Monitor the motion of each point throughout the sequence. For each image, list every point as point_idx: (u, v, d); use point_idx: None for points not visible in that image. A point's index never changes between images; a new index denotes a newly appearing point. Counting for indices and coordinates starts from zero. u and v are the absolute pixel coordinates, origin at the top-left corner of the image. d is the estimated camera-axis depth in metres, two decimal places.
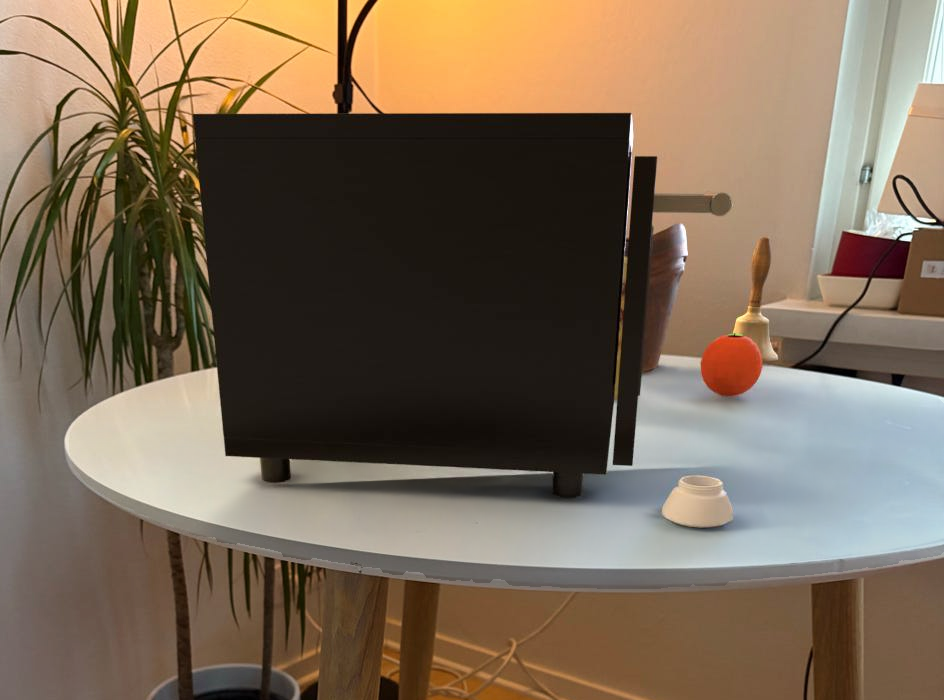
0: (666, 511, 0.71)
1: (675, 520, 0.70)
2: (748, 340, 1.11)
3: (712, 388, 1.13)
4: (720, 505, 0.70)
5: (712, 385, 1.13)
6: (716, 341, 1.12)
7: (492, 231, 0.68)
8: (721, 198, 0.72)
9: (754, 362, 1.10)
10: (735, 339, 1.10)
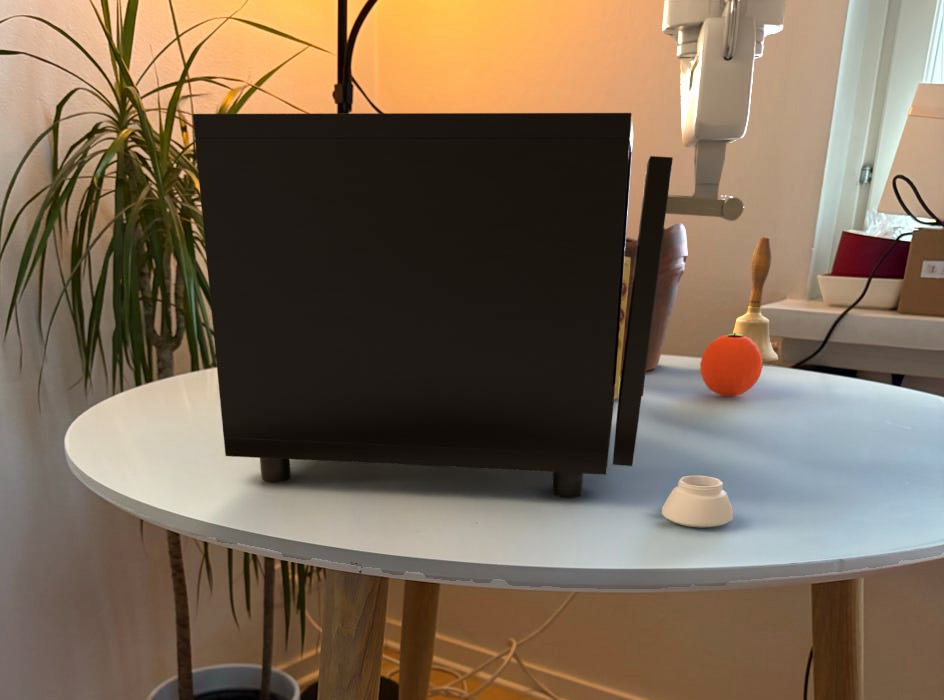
0: (666, 511, 0.71)
1: (675, 520, 0.70)
2: (748, 340, 1.11)
3: (712, 388, 1.13)
4: (720, 505, 0.70)
5: (712, 385, 1.13)
6: (716, 341, 1.12)
7: (492, 231, 0.68)
8: (733, 203, 0.72)
9: (754, 362, 1.10)
10: (735, 339, 1.10)
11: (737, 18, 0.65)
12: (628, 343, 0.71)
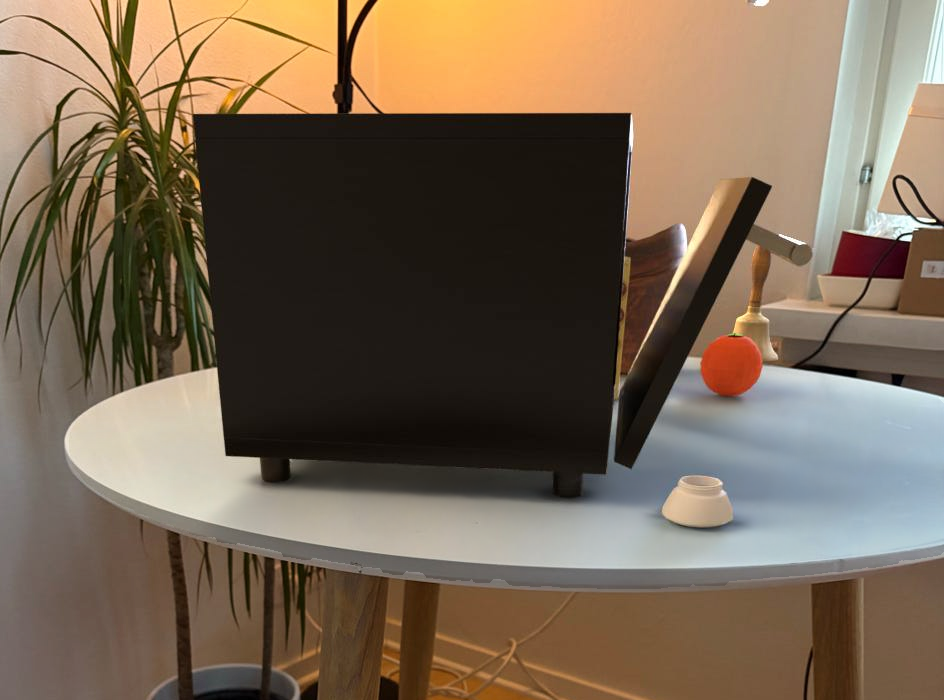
0: (666, 511, 0.71)
1: (675, 520, 0.70)
2: (748, 340, 1.11)
3: (712, 388, 1.13)
4: (720, 505, 0.70)
5: (712, 385, 1.13)
6: (716, 341, 1.12)
7: (492, 231, 0.68)
8: (804, 249, 0.73)
9: (754, 362, 1.10)
10: (735, 339, 1.10)
11: None
12: (668, 350, 0.70)
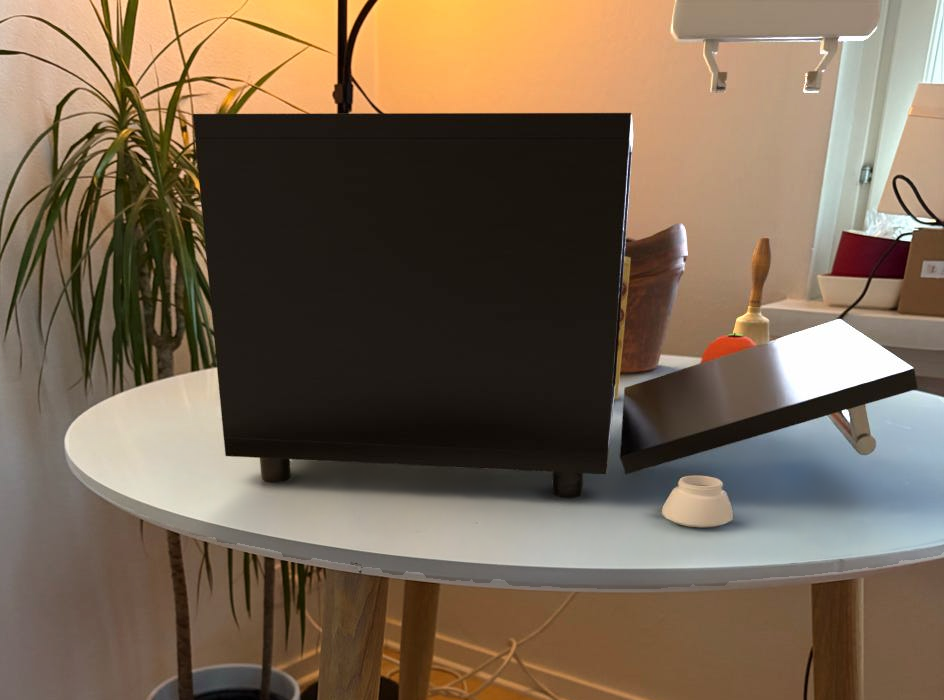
0: (666, 511, 0.71)
1: (675, 520, 0.70)
2: (748, 340, 1.11)
3: None
4: (720, 505, 0.70)
5: None
6: (716, 341, 1.12)
7: (492, 231, 0.68)
8: (871, 443, 0.78)
9: None
10: (735, 339, 1.10)
11: None
12: (739, 421, 0.72)
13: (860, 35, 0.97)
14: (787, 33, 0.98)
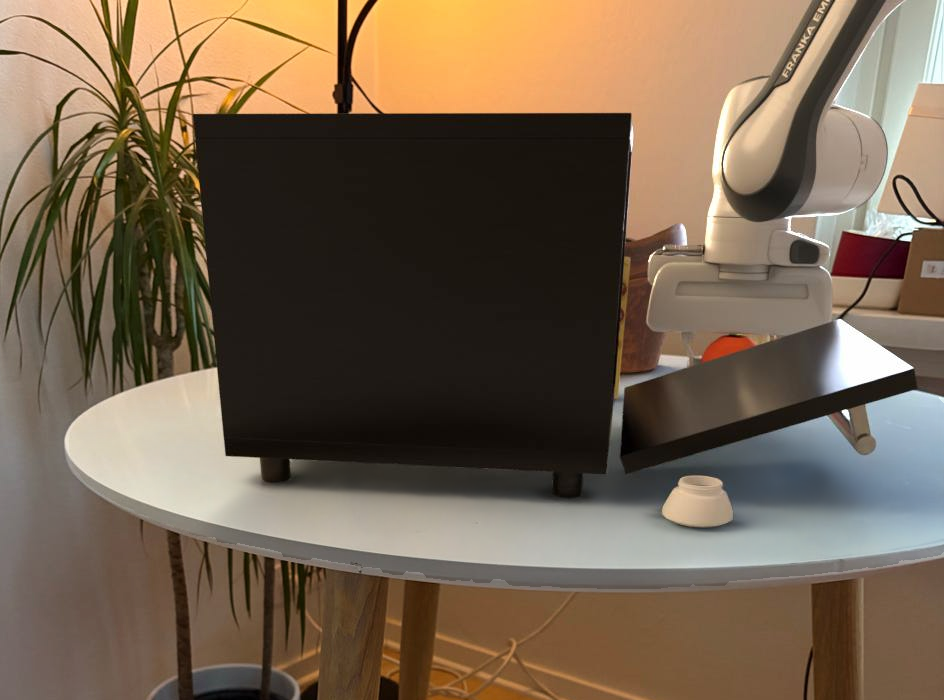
0: (666, 511, 0.71)
1: (675, 520, 0.70)
2: (748, 340, 1.11)
3: None
4: (720, 505, 0.70)
5: None
6: (716, 341, 1.12)
7: (492, 231, 0.68)
8: (871, 443, 0.78)
9: None
10: (735, 339, 1.11)
11: (649, 265, 1.10)
12: (739, 421, 0.72)
13: None
14: (749, 331, 1.10)
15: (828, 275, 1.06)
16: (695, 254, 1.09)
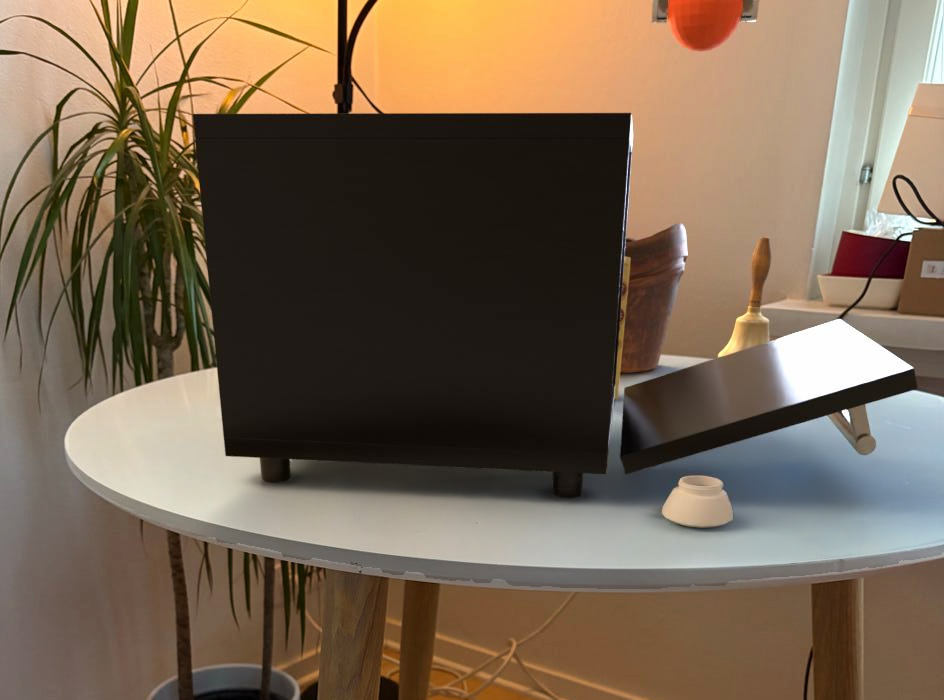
0: (666, 511, 0.71)
1: (675, 520, 0.70)
2: None
3: (681, 36, 0.92)
4: (720, 505, 0.70)
5: (681, 31, 0.91)
6: None
7: (492, 231, 0.68)
8: (871, 443, 0.78)
9: None
10: None
11: None
12: (739, 421, 0.72)
13: None
14: None
15: None
16: None
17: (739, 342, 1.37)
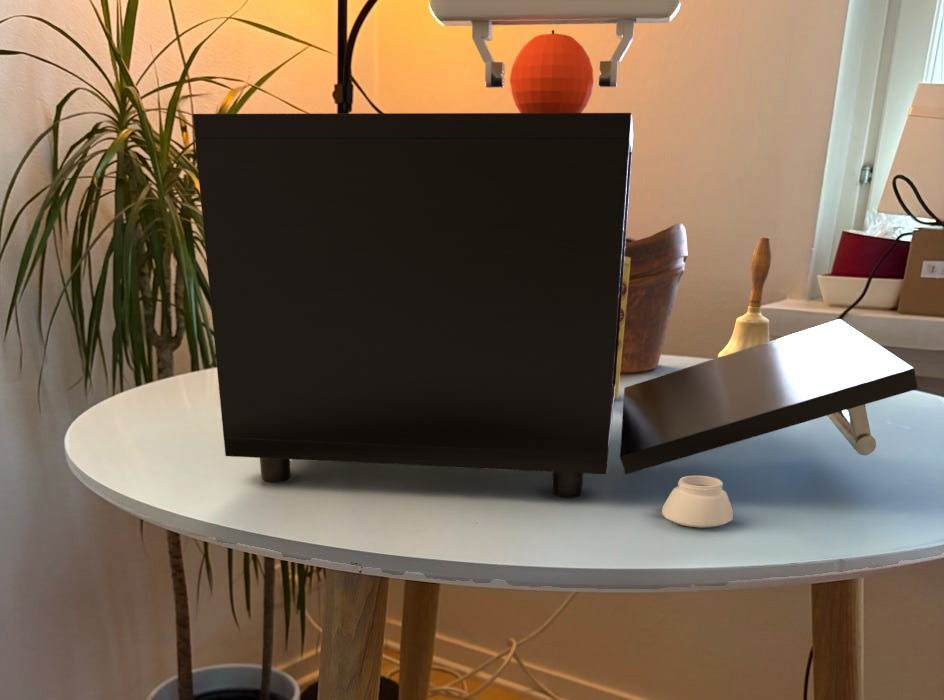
0: (666, 511, 0.71)
1: (675, 520, 0.70)
2: (570, 38, 0.79)
3: None
4: (720, 505, 0.70)
5: (524, 107, 0.81)
6: (528, 42, 0.80)
7: (492, 231, 0.68)
8: (871, 443, 0.78)
9: (577, 66, 0.79)
10: (551, 35, 0.79)
11: None
12: (739, 421, 0.72)
13: (659, 16, 0.78)
14: (569, 13, 0.78)
15: None
16: None
17: (739, 342, 1.37)
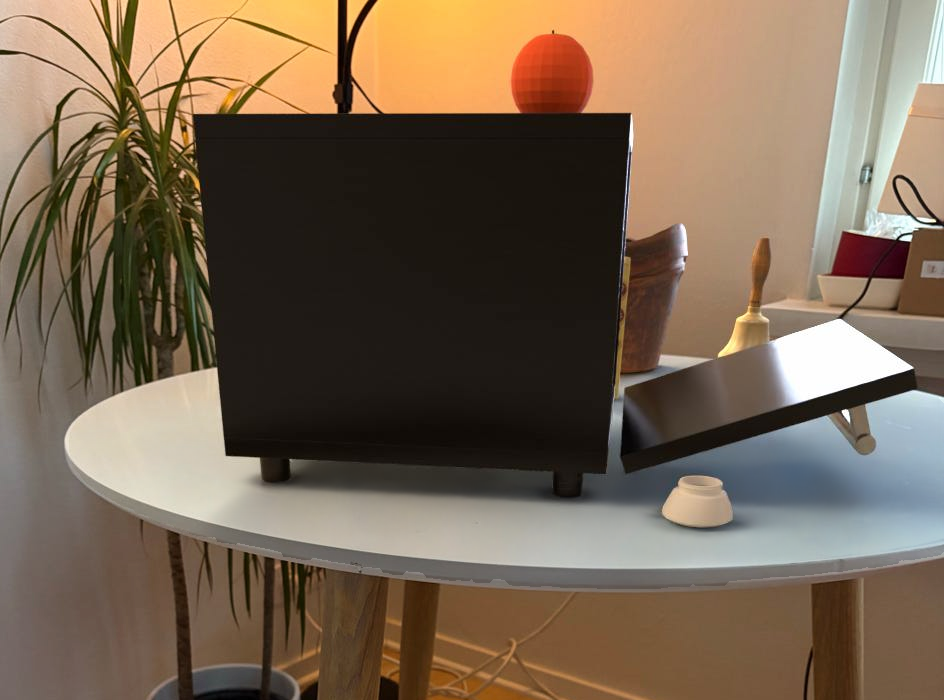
0: (666, 511, 0.71)
1: (675, 520, 0.70)
2: (570, 38, 0.79)
3: None
4: (720, 505, 0.70)
5: (524, 107, 0.81)
6: (528, 42, 0.80)
7: (492, 231, 0.68)
8: (871, 443, 0.78)
9: (577, 66, 0.79)
10: (551, 35, 0.79)
11: None
12: (739, 421, 0.72)
13: None
14: None
15: None
16: None
17: (739, 342, 1.37)
